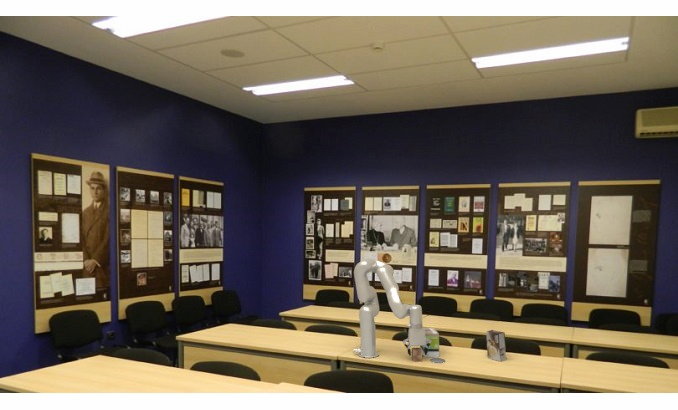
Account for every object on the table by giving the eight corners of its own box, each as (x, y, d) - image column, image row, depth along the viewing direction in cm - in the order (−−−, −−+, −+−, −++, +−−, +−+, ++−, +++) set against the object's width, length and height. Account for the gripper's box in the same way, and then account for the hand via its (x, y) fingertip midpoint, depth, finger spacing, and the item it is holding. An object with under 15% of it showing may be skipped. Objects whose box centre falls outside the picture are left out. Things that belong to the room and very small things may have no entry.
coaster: (431, 363, 256) (431, 362, 256) (428, 358, 265) (428, 358, 265) (447, 363, 257) (447, 362, 257) (443, 358, 266) (443, 357, 266)
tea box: (440, 357, 268) (439, 332, 269) (423, 357, 268) (422, 333, 269) (435, 350, 283) (434, 327, 284) (419, 350, 283) (418, 327, 284)
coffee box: (506, 359, 261) (505, 332, 262) (500, 361, 257) (499, 334, 258) (493, 356, 268) (491, 329, 269) (486, 358, 264) (485, 331, 265)
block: (413, 361, 260) (413, 350, 260) (411, 359, 265) (411, 347, 265) (421, 361, 260) (421, 349, 261) (420, 359, 265) (419, 347, 266)
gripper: (403, 327, 260) (404, 357, 259) (431, 326, 260) (433, 355, 259) (400, 325, 267) (402, 353, 266) (429, 323, 268) (430, 352, 267)
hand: (417, 354), depth 263 cm, fingers open, 9 cm apart
